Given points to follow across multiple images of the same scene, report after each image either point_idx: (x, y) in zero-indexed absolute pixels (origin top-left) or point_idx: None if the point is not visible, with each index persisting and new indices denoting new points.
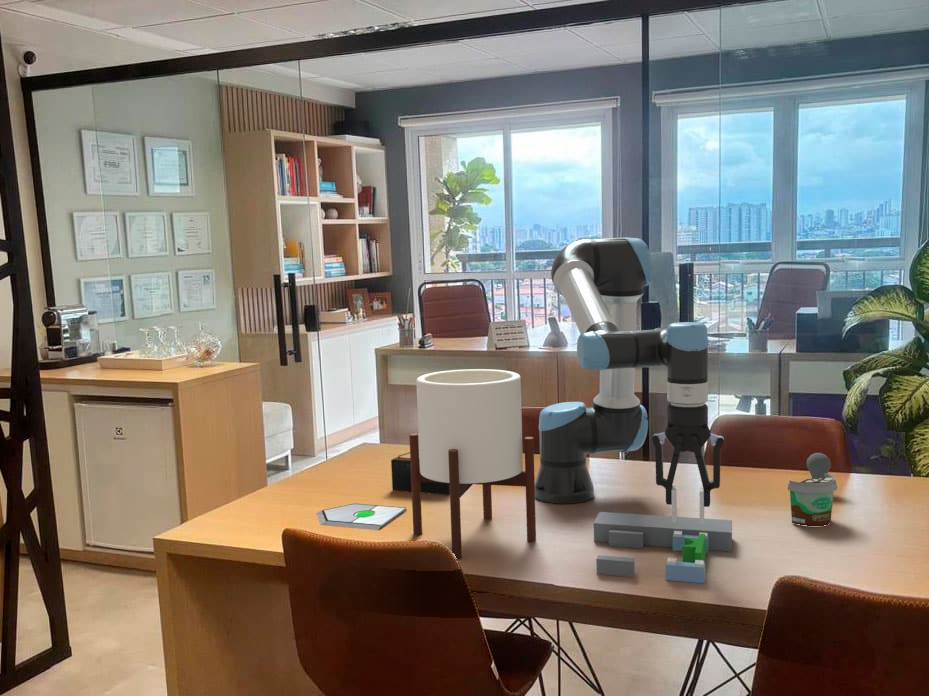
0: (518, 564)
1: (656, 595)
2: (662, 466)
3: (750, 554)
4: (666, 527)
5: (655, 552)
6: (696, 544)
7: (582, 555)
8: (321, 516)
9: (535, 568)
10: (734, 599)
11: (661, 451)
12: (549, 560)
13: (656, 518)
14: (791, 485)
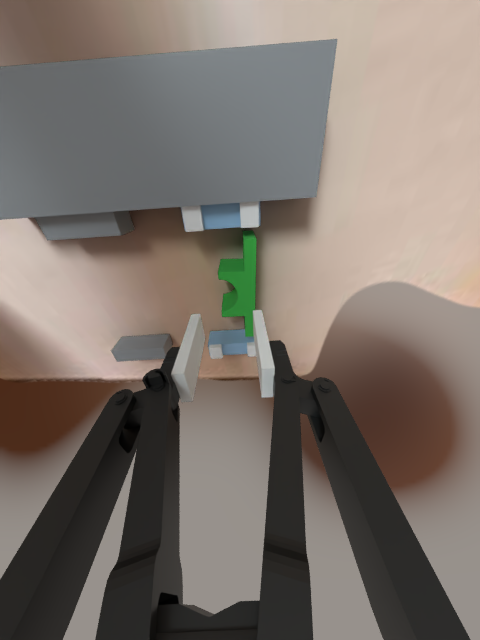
0: (18, 345)
1: (212, 375)
2: (113, 477)
3: (337, 201)
4: (159, 203)
5: (164, 245)
6: (244, 303)
7: (64, 293)
8: None
9: (48, 350)
10: None
11: (74, 607)
12: (39, 324)
13: (97, 109)
14: None
